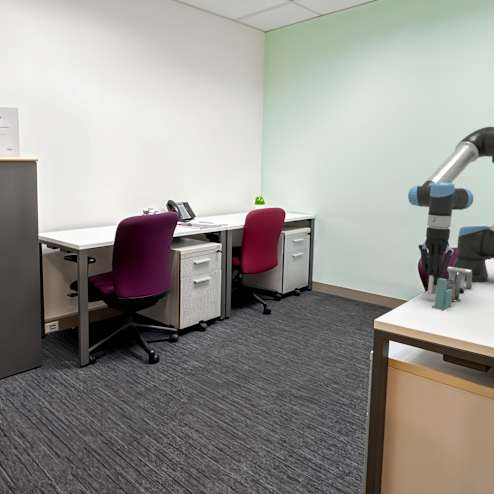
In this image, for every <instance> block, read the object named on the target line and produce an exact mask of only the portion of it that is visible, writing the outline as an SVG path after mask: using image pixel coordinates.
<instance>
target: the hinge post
mask: <svg viewBox="0 0 494 494" xmlns="http://www.w3.org/2000/svg"><path fill="white" fill-rule="evenodd" d="M461 274H462V272H459V271H454V280H453V284H457V287H456V290H455V299H454V300H453V301H452V303H453V302H454V303H461V301H462V300H461V299H460V293H459V292H460V283H461Z"/></svg>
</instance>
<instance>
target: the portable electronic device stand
mask: <svg viewBox="0 0 494 494" xmlns="http://www.w3.org/2000/svg"><path fill="white" fill-rule="evenodd" d="M454 271H459V272H462V274H461V283H460V287H462V288H467V289H473V287H474V282H473V281H472V270H469V269H462V268H456V267H453V266H449V265H448V268H447V271H446V273H447V272H448V280H452V281H453V280H454ZM465 276H466V281H464V280H465Z"/></svg>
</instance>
